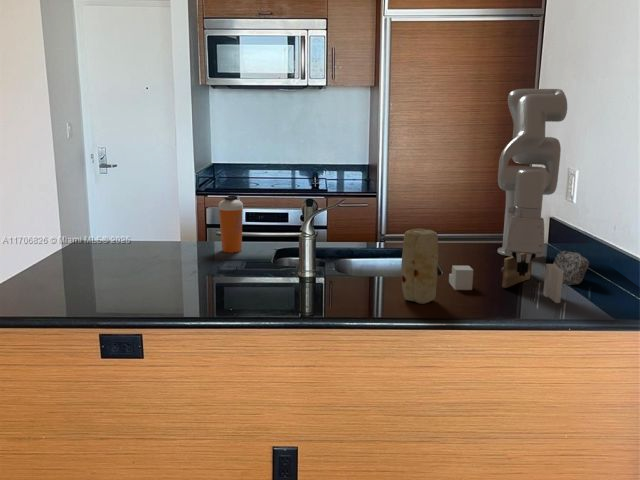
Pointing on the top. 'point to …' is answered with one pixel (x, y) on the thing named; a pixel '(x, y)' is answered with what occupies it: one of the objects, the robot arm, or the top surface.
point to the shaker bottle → (231, 223)
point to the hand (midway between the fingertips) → (521, 274)
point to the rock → (571, 266)
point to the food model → (419, 265)
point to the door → (514, 271)
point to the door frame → (553, 282)
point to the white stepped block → (461, 277)
